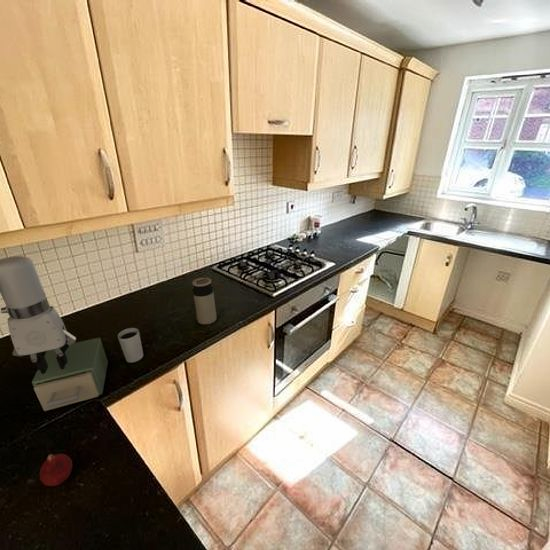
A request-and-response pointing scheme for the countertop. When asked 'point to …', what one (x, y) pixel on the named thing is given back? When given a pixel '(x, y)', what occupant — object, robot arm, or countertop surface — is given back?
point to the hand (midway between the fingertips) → (54, 367)
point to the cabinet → (77, 363)
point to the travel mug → (204, 301)
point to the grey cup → (131, 344)
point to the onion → (55, 469)
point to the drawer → (66, 390)
